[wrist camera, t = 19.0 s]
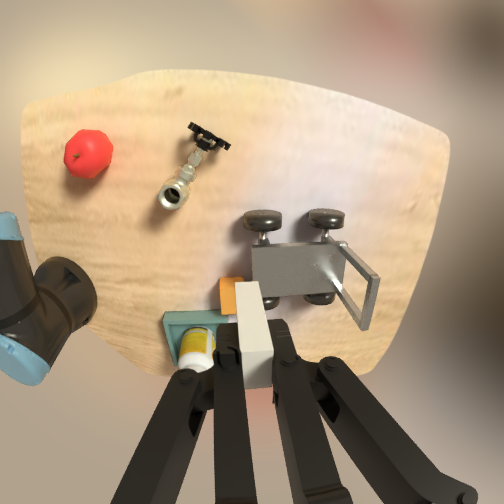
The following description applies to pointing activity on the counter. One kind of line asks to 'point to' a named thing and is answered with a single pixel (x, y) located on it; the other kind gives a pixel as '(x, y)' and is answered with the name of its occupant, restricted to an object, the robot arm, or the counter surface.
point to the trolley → (308, 264)
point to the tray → (183, 320)
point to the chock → (228, 294)
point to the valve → (189, 169)
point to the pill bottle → (197, 349)
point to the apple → (87, 153)
